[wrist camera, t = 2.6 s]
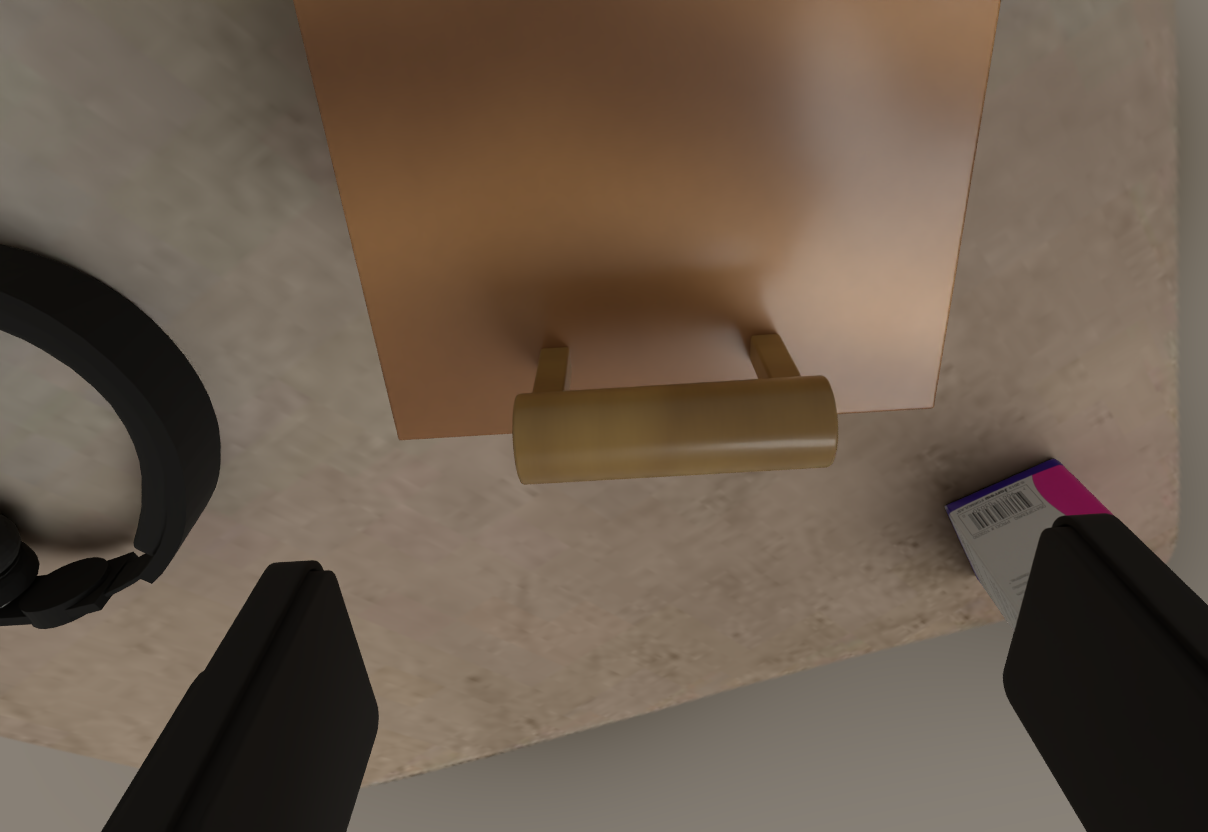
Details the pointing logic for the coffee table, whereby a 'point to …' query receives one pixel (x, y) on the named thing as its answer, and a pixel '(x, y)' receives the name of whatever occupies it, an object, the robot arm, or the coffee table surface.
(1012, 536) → the supplement box
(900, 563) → the coffee table surface
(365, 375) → the coffee table surface
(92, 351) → the headphones
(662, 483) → the coffee table surface
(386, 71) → the lid
